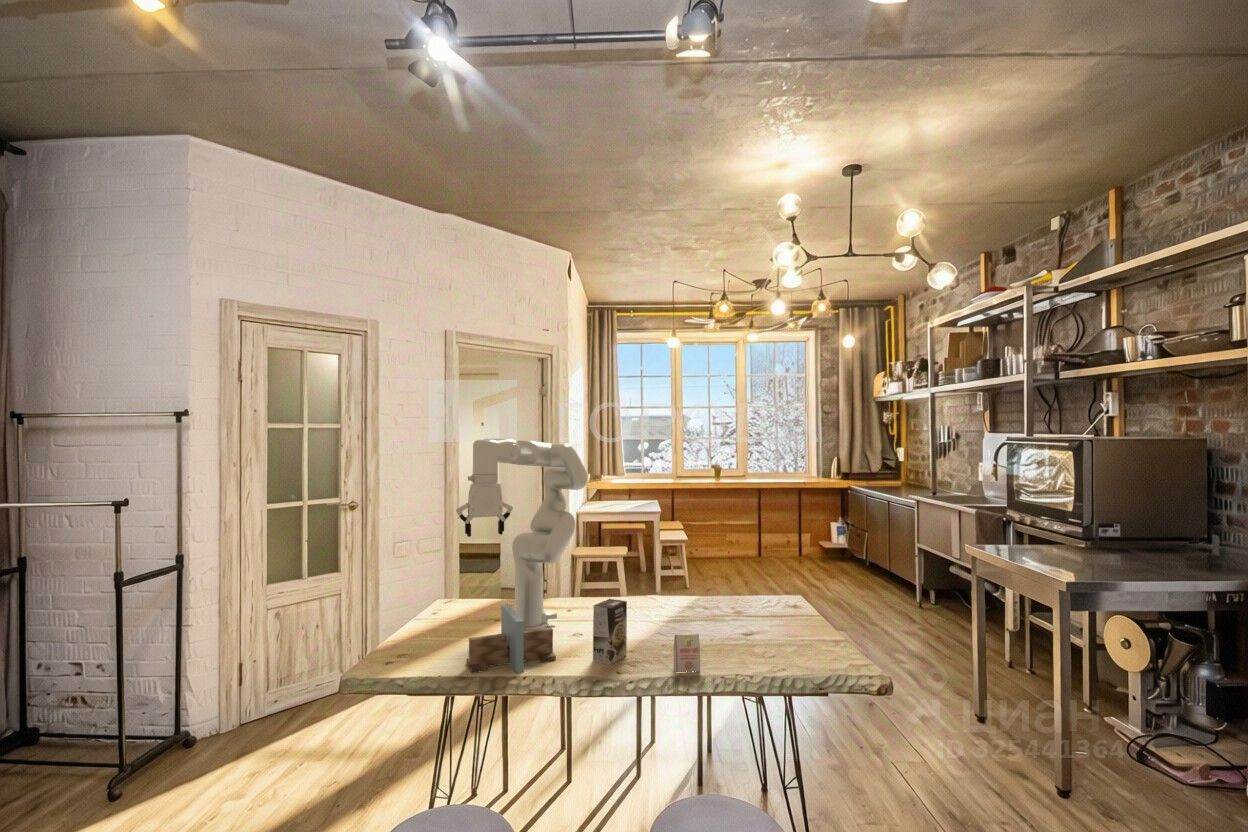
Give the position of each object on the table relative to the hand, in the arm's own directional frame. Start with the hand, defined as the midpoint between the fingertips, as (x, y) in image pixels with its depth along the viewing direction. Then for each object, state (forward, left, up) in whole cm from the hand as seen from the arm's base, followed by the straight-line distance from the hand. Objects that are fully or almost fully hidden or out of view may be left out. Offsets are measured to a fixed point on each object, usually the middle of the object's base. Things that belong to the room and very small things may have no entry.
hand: (484, 535), depth 189 cm
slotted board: (-5, +15, -34) cm, 38 cm away
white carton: (-48, +41, -35) cm, 72 cm away
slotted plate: (-5, +15, -34) cm, 38 cm away
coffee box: (-32, +24, -34) cm, 53 cm away
